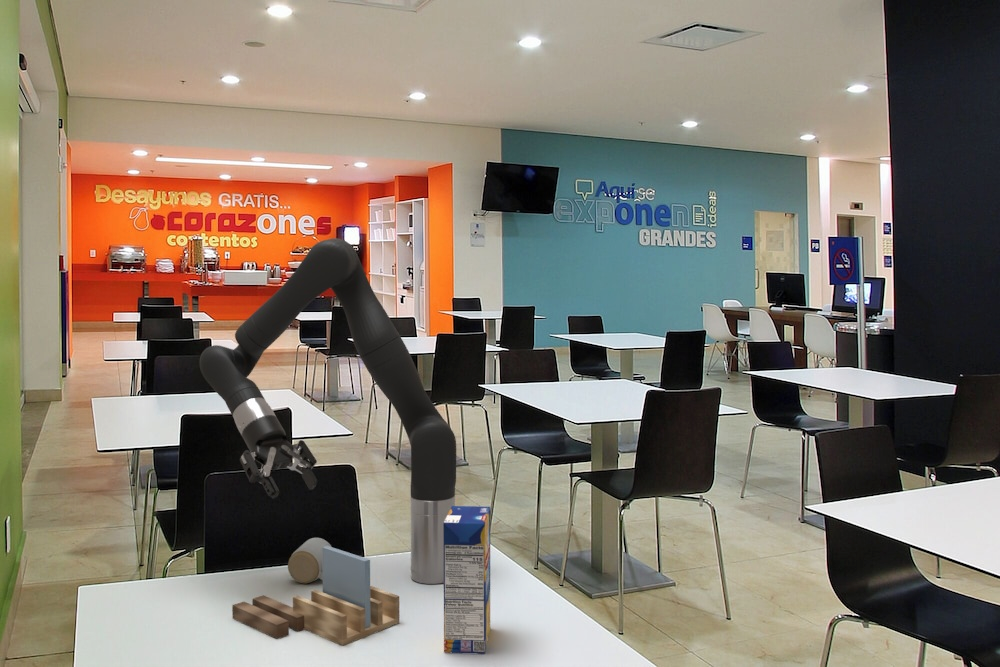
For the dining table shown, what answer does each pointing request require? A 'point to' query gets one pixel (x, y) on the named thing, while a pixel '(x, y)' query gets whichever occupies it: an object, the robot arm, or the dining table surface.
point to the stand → (268, 616)
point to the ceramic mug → (307, 561)
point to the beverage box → (466, 579)
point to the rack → (346, 615)
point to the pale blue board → (347, 578)
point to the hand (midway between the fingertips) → (295, 491)
